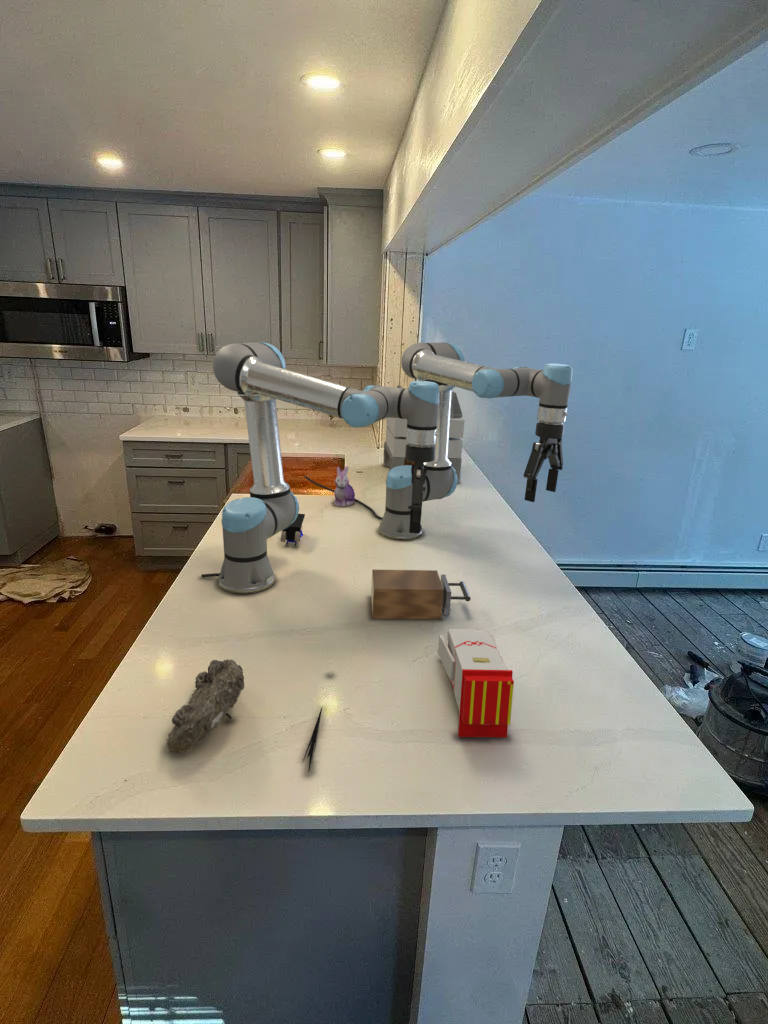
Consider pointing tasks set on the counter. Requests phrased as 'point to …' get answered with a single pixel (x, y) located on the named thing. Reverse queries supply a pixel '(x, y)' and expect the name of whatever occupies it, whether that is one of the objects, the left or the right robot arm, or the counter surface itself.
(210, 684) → the fossil
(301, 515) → the figurine character
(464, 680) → the toy
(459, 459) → the transformer
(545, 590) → the counter surface
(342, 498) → the figurine
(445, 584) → the drawer
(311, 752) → the feather
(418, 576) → the cabinet
